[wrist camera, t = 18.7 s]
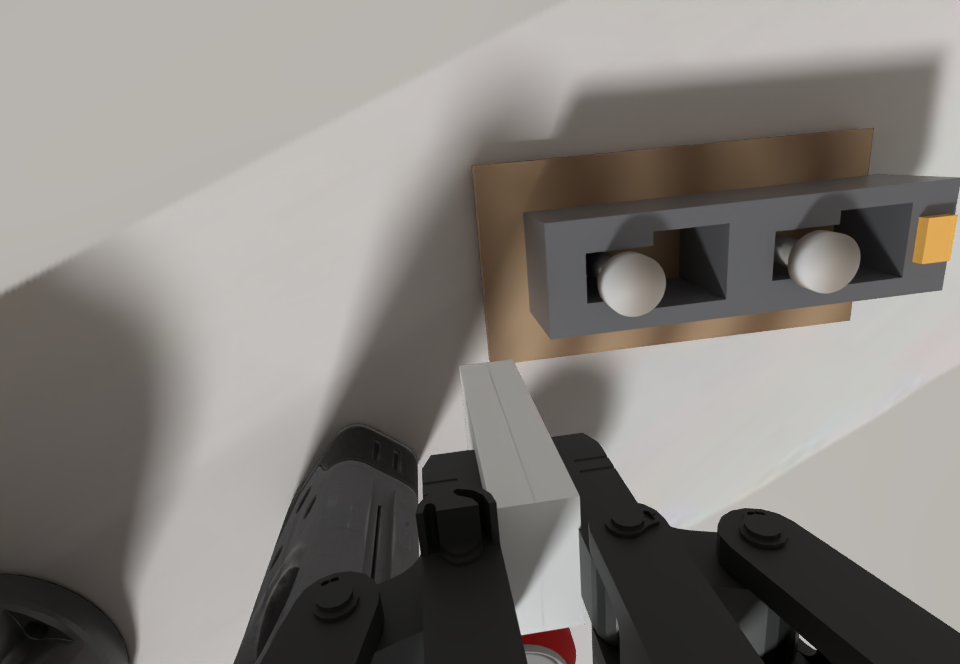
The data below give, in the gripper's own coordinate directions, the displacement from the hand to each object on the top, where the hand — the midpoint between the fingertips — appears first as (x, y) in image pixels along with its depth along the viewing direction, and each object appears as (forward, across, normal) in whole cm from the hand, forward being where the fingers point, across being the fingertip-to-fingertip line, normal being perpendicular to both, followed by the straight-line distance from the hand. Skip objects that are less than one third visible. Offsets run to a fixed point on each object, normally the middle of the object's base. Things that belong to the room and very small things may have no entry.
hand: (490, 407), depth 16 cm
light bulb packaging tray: (+18, +16, 0) cm, 24 cm away
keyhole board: (+19, +14, 0) cm, 24 cm away
